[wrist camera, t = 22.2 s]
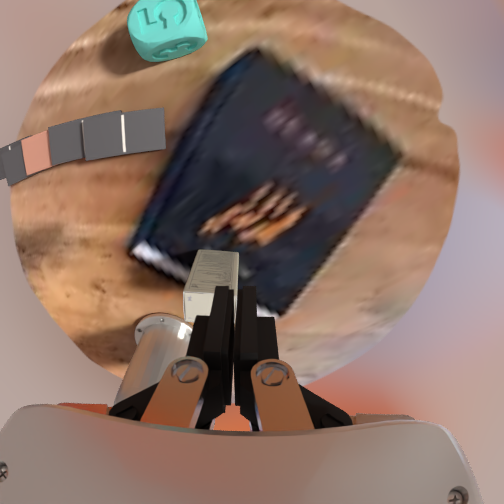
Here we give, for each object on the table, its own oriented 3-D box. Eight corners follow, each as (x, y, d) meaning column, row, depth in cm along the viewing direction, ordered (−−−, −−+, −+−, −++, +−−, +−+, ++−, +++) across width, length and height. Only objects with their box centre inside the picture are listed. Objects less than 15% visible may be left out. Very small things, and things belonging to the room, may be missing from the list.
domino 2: (53, 129, 32) (1, 154, 30) (60, 163, 35) (8, 186, 33) (57, 129, 34) (6, 153, 32) (64, 162, 36) (13, 184, 34)
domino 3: (84, 117, 32) (21, 140, 30) (89, 154, 35) (26, 175, 32) (86, 118, 34) (25, 140, 31) (91, 154, 36) (31, 173, 34)
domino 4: (120, 110, 32) (48, 127, 29) (123, 149, 35) (52, 165, 32) (122, 111, 34) (52, 127, 31) (125, 148, 36) (56, 164, 33)
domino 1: (29, 136, 33) (-8, 152, 33) (32, 168, 35) (-4, 181, 35) (35, 134, 34) (-2, 150, 34) (39, 166, 37) (2, 179, 37)
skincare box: (197, 273, 44) (182, 322, 33) (198, 247, 43) (180, 290, 31) (238, 277, 45) (234, 327, 34) (240, 250, 43) (237, 296, 32)
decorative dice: (144, 22, 28) (122, 3, 21) (198, 3, 28) (186, -21, 20) (154, 66, 32) (132, 54, 24) (210, 48, 31) (201, 29, 24)
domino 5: (164, 107, 33) (82, 120, 30) (165, 148, 35) (85, 161, 32) (163, 108, 34) (86, 120, 31) (165, 148, 37) (88, 159, 34)
